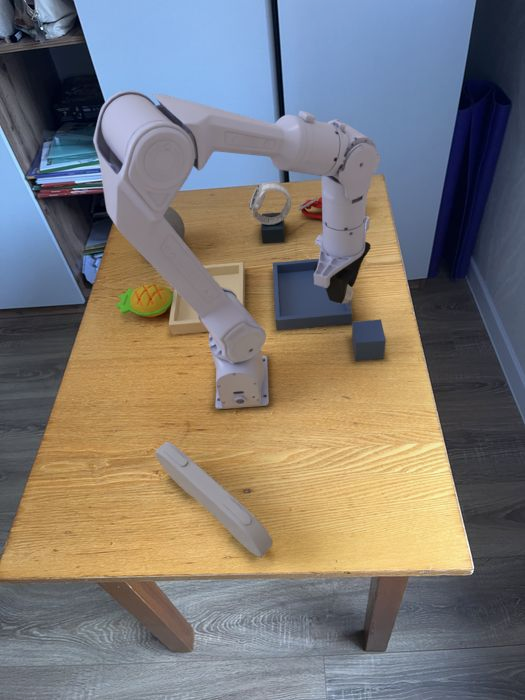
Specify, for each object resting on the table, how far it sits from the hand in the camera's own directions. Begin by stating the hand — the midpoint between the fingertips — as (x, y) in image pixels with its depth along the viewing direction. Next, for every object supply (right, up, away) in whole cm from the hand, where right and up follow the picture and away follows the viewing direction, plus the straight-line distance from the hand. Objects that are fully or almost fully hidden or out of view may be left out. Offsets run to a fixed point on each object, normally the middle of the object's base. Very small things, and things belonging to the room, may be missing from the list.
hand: (341, 292), depth 79 cm
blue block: (+4, -9, +3) cm, 10 cm away
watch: (-10, +14, +25) cm, 30 cm away
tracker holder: (+2, +20, +28) cm, 34 cm away
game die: (0, -1, +1) cm, 2 cm away
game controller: (-18, -30, -12) cm, 37 cm away
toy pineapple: (-33, -2, +14) cm, 36 cm away
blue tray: (-4, 0, +12) cm, 12 cm away
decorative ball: (-32, +11, +25) cm, 42 cm away
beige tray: (-22, 0, +13) cm, 26 cm away
